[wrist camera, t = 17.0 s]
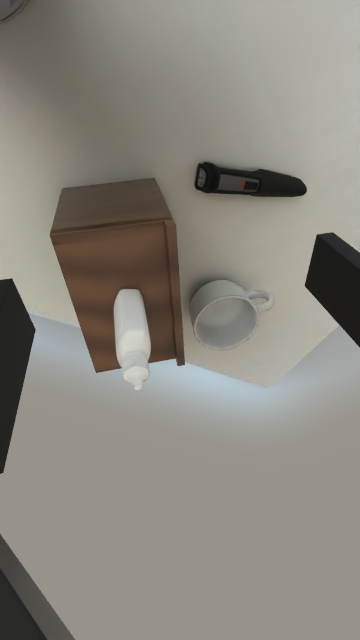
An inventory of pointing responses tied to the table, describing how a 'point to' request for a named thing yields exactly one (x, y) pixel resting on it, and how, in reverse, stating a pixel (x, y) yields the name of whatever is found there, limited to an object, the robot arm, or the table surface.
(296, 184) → the electric trimmer
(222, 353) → the table surface
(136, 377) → the eye dropper bottle
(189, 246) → the table surface
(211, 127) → the table surface
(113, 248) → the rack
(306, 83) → the table surface
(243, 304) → the teacup
